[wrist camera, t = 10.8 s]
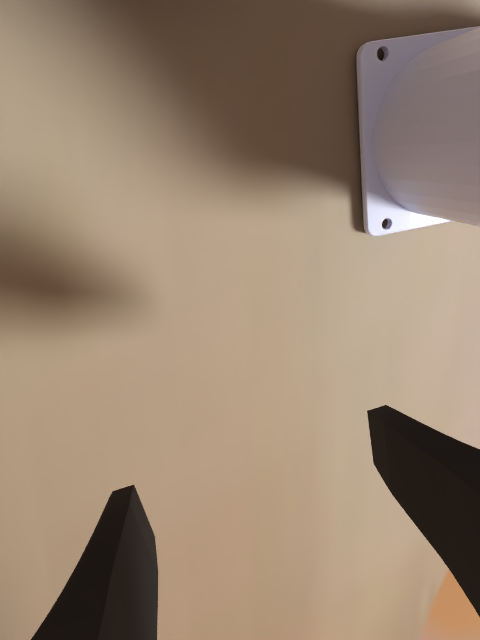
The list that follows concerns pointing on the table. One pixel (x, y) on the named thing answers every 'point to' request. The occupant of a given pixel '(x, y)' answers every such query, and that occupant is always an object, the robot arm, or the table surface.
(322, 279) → the table surface
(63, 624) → the robot arm
